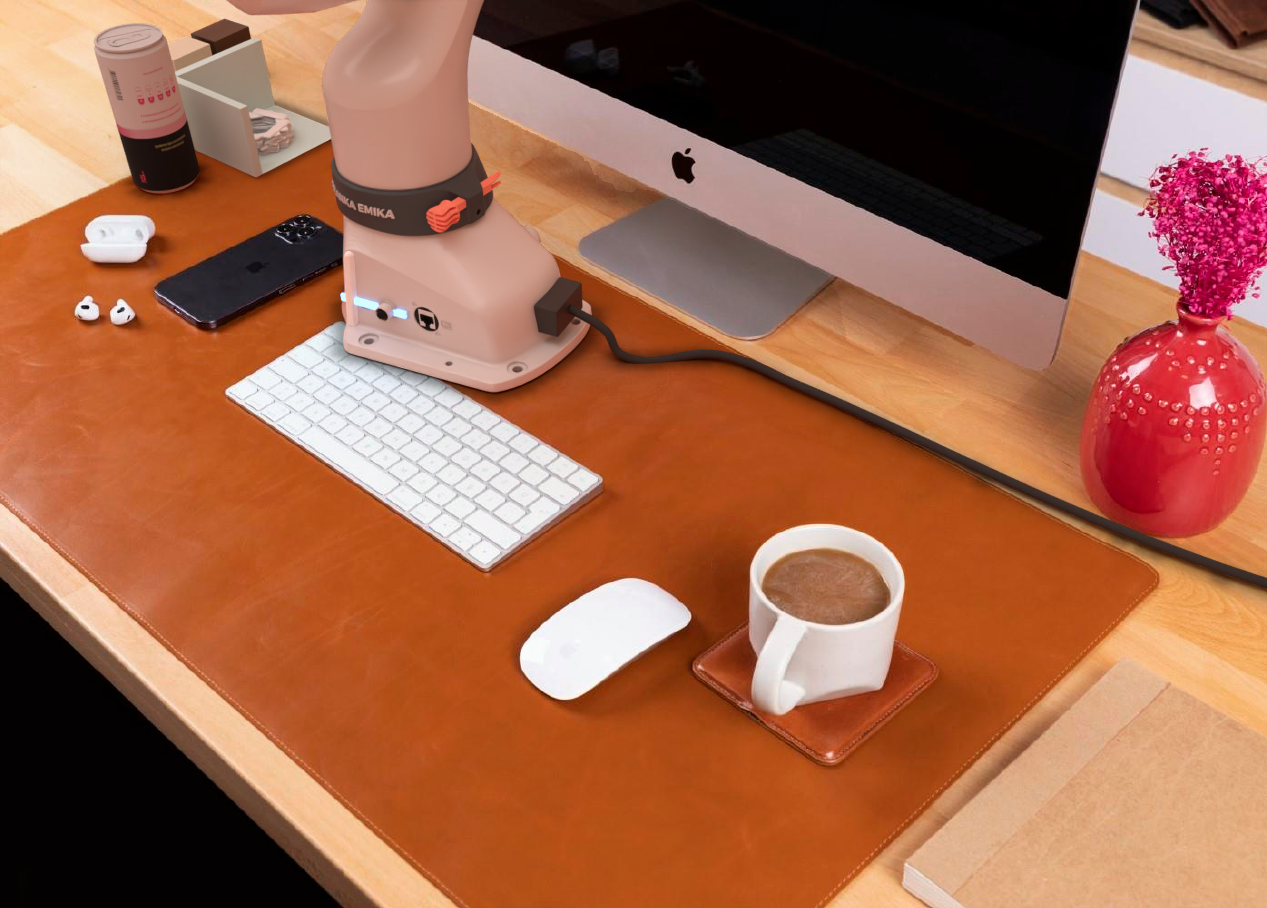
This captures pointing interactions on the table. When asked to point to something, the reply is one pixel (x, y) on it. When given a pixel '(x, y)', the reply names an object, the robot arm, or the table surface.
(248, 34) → the walnut block
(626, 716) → the table surface
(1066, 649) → the table surface
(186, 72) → the l-shaped corner panel
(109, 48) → the beverage can
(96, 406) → the table surface
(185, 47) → the light tan block
